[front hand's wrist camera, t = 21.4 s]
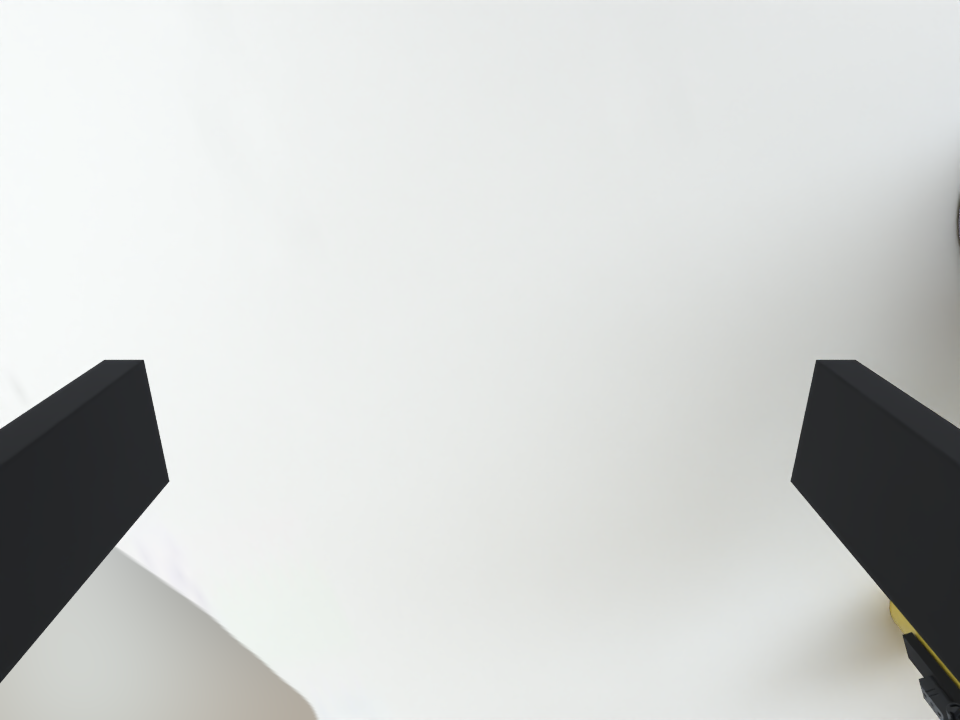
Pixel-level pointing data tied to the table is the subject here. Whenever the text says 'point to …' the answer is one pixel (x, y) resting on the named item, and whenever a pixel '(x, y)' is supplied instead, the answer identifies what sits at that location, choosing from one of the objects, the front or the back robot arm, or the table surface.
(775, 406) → the table surface
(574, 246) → the table surface
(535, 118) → the table surface
